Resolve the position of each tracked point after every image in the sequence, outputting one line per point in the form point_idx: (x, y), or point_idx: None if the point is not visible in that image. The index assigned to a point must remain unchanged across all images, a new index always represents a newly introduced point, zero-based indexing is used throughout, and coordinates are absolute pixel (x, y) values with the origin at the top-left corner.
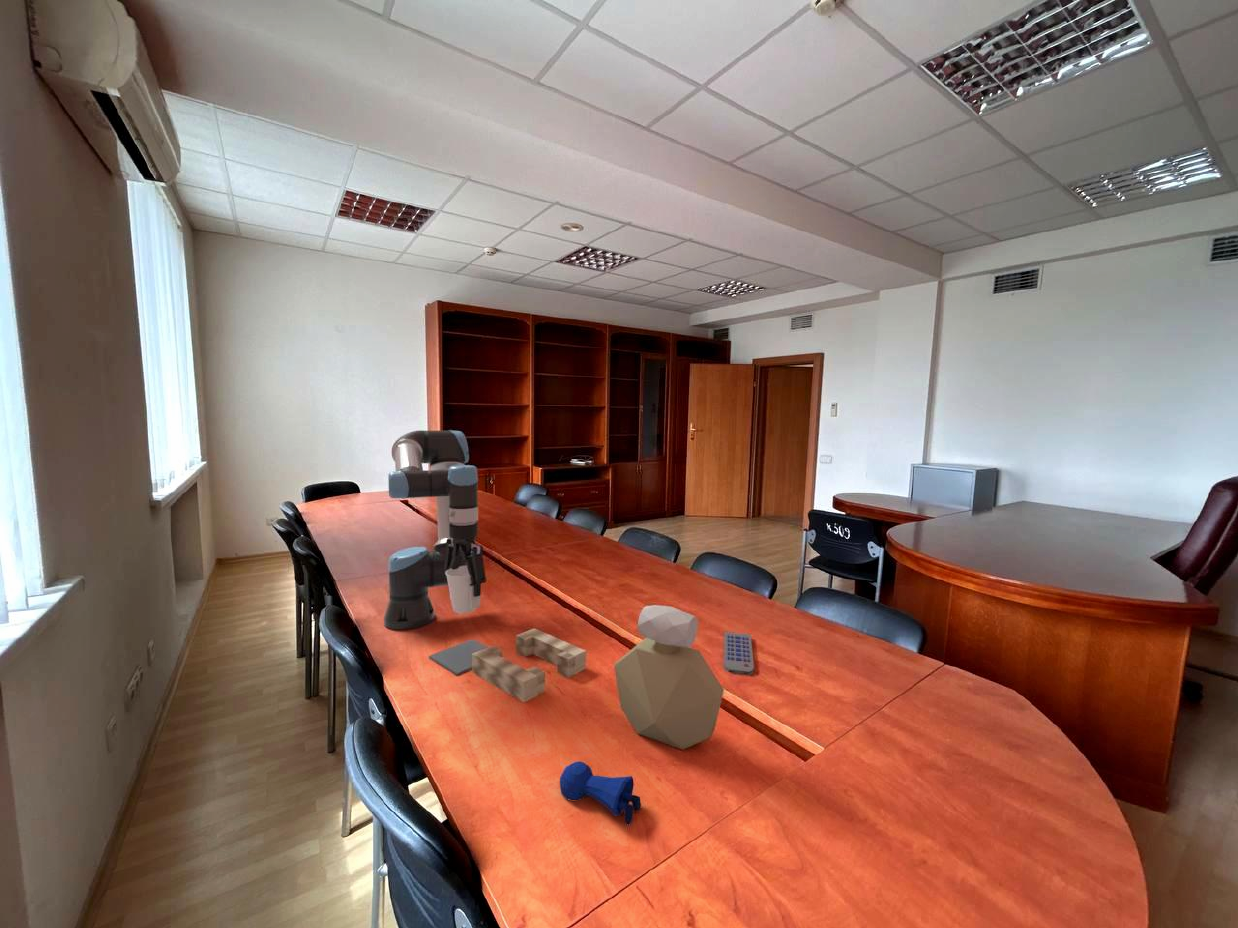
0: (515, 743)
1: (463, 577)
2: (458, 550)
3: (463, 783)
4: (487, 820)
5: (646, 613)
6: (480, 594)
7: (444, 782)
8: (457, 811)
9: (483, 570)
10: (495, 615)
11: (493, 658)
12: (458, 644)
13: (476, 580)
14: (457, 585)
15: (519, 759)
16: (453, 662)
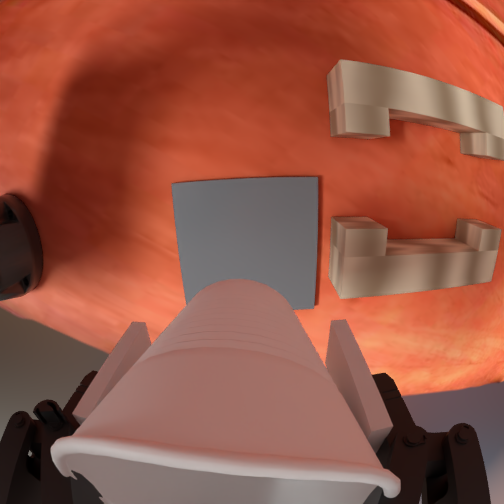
0: (489, 321)
1: None
2: None
3: (469, 376)
4: (494, 371)
5: None
6: (390, 377)
7: (455, 387)
8: (476, 385)
9: (482, 499)
10: (86, 64)
11: (402, 272)
12: (176, 231)
13: (431, 479)
14: (291, 490)
15: (498, 328)
16: None
